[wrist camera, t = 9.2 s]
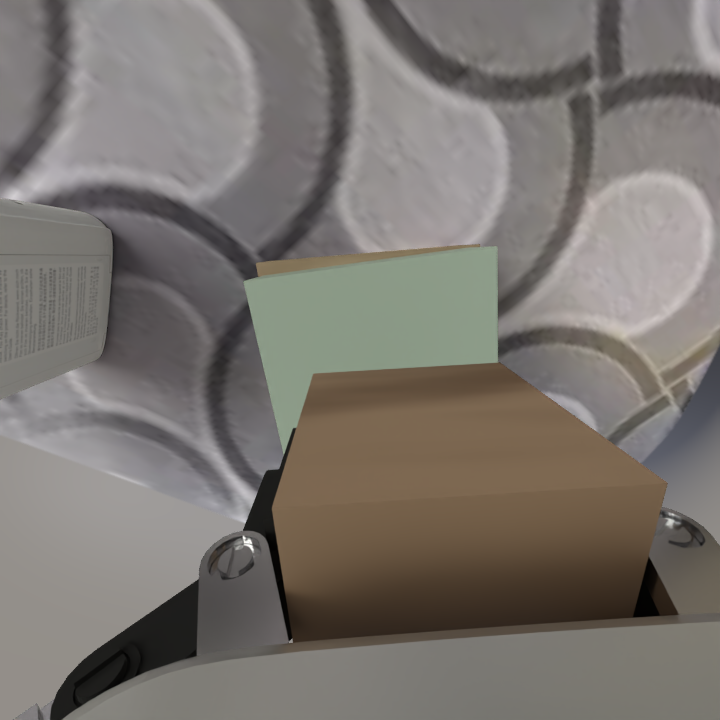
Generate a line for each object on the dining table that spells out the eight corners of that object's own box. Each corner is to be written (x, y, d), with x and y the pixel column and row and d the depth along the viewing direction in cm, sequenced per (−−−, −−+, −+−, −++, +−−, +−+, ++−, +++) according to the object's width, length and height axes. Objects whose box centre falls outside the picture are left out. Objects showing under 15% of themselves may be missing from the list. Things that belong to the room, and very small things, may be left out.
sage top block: (263, 275, 20) (243, 281, 16) (468, 247, 20) (497, 246, 16) (301, 452, 23) (292, 491, 20) (473, 429, 23) (498, 464, 19)
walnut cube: (313, 373, 11) (271, 508, 5) (499, 362, 11) (667, 483, 5) (328, 525, 13) (310, 750, 7) (488, 514, 13) (603, 730, 7)
